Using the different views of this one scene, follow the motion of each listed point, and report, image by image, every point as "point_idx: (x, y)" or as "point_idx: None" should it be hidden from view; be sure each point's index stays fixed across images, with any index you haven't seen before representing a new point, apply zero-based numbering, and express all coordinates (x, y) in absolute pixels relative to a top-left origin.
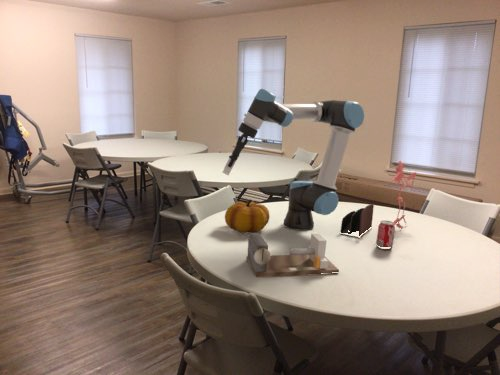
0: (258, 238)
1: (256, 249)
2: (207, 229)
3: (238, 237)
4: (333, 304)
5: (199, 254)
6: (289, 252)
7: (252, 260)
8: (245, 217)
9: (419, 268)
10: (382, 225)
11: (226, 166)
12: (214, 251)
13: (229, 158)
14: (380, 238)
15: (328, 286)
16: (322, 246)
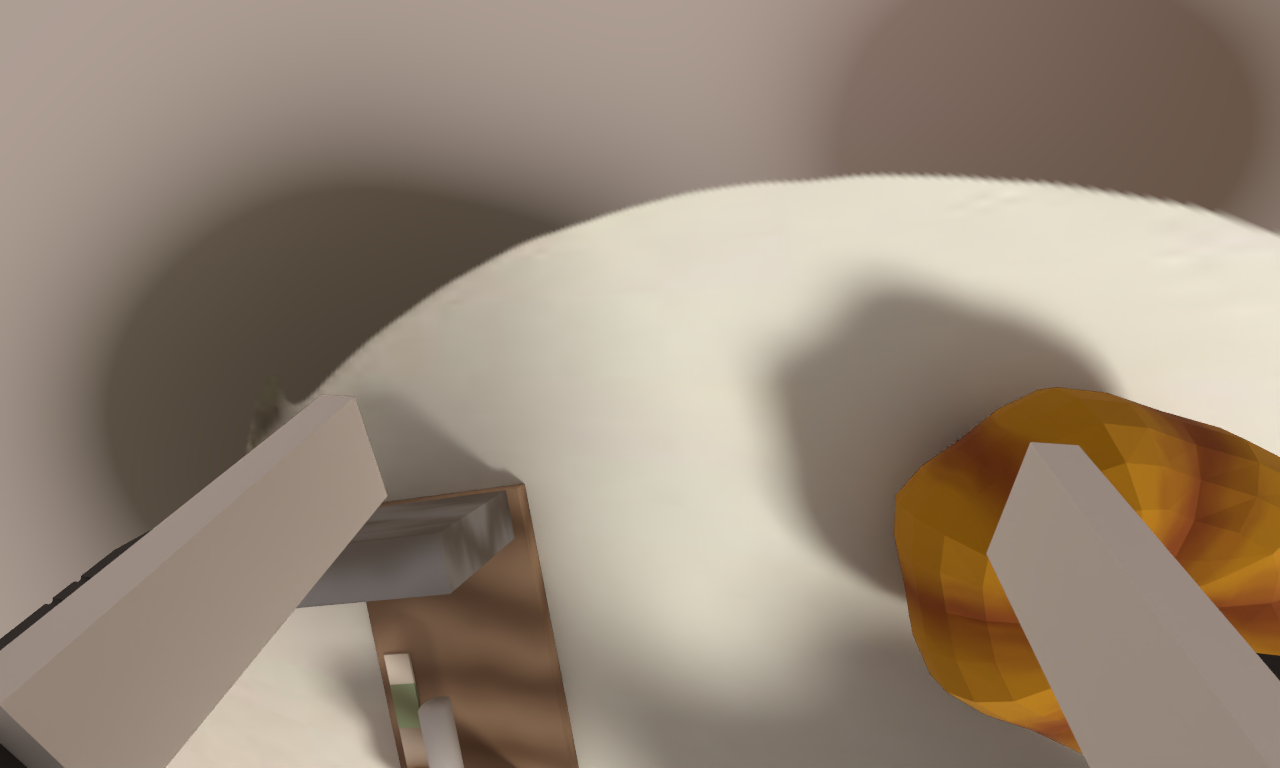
0: (356, 576)
1: None
2: (1011, 263)
3: (856, 466)
4: (205, 727)
5: (563, 253)
6: (447, 700)
7: (399, 509)
8: (917, 550)
9: None
10: None
11: (220, 499)
12: (612, 327)
13: (1222, 712)
14: None
15: (320, 758)
16: None
